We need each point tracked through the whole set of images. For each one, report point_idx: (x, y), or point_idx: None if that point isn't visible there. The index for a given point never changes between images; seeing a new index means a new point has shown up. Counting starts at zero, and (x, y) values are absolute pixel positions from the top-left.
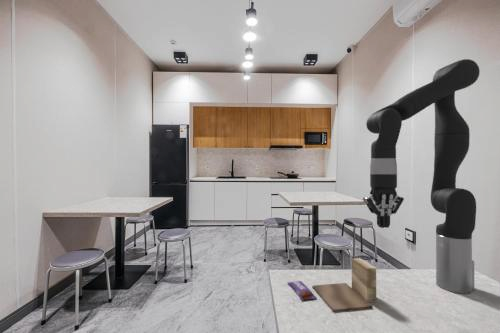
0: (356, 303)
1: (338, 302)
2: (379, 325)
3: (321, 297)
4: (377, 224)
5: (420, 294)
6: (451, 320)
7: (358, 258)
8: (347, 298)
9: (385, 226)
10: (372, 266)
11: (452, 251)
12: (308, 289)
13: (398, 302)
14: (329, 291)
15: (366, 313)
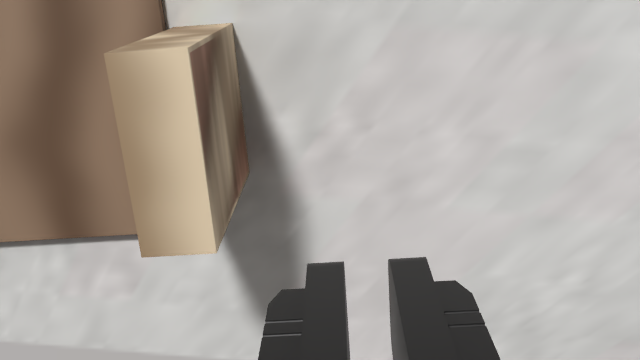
0: (120, 205)
1: (29, 186)
2: (159, 337)
3: None
4: (277, 301)
5: (556, 125)
6: (491, 336)
7: (169, 54)
8: (91, 153)
9: (391, 324)
10: (203, 225)
11: None
12: None
13: (363, 191)
14: (9, 70)
15: (144, 261)
